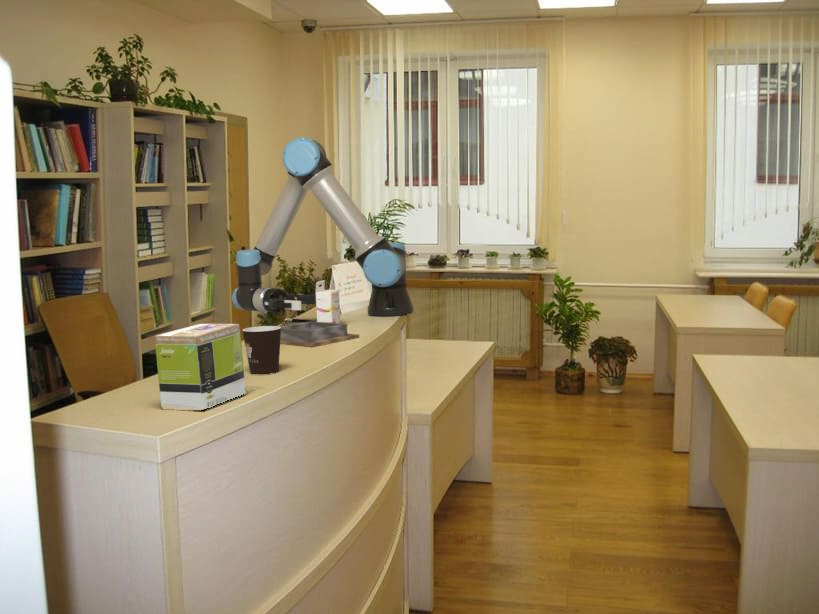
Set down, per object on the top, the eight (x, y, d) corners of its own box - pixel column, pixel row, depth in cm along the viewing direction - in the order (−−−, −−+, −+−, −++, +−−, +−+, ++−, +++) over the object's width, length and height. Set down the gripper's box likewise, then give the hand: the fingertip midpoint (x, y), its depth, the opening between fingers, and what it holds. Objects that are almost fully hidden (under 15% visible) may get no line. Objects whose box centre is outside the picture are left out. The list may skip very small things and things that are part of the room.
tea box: (205, 393, 191) (200, 322, 189) (247, 395, 187) (242, 322, 185) (159, 410, 177) (153, 333, 175) (203, 412, 173) (197, 334, 171)
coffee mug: (284, 374, 208) (281, 330, 207) (245, 377, 207) (242, 332, 205) (282, 365, 219) (280, 323, 218) (245, 368, 218) (242, 325, 217)
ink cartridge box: (333, 332, 271) (330, 281, 269) (317, 332, 272) (314, 282, 270) (341, 327, 279) (339, 278, 277) (325, 328, 280) (323, 279, 278)
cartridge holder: (309, 332, 271) (309, 320, 270) (359, 337, 258) (358, 323, 257) (262, 341, 257) (261, 328, 257) (312, 347, 244) (311, 332, 244)
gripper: (301, 307, 300) (347, 310, 286) (239, 317, 282) (286, 320, 268) (299, 284, 300) (346, 286, 286) (238, 292, 281) (284, 295, 267)
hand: (317, 303), depth 277 cm, fingers open, 13 cm apart
